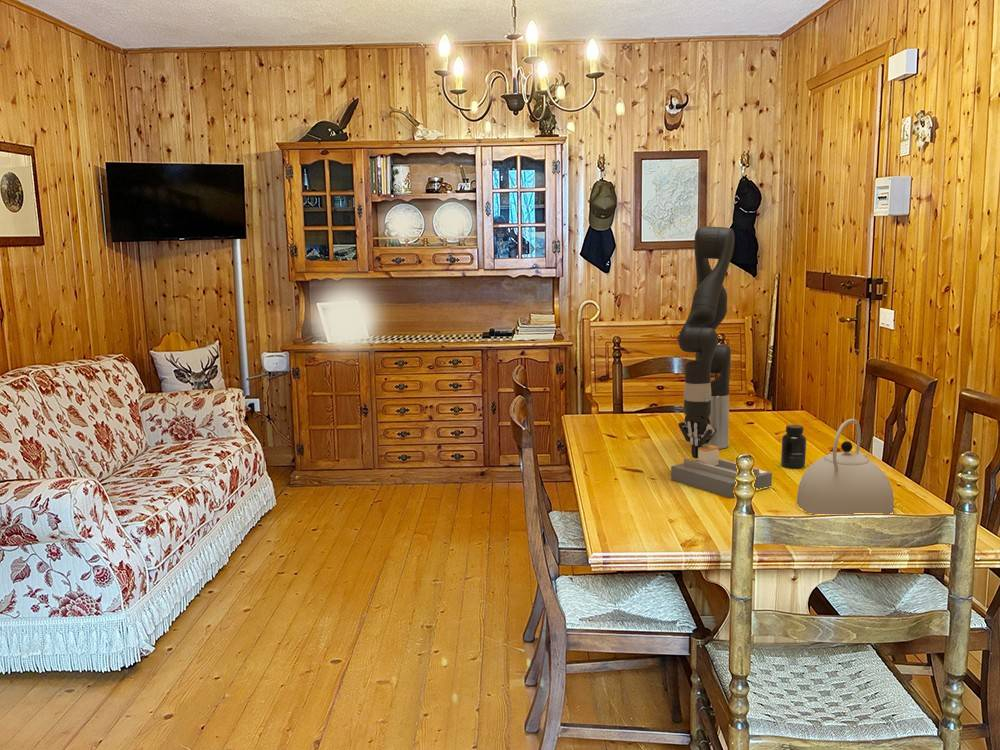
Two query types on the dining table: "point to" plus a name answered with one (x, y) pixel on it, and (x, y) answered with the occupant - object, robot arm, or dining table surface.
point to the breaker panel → (715, 476)
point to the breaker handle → (708, 455)
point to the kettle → (845, 483)
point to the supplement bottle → (793, 447)
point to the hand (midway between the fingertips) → (696, 457)
